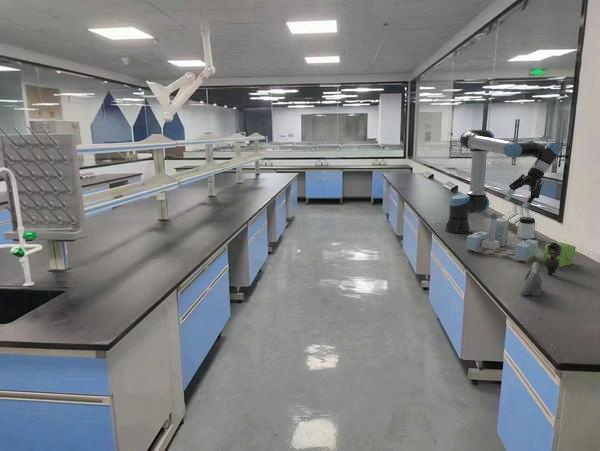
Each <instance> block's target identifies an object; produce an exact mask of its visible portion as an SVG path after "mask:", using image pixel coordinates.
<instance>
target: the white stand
mask: <svg viewBox="0 0 600 451" xmlns="http://www.w3.org/2000/svg"><path fill="white" fill-rule="evenodd" d="M488 218H489V219H488V227H487V228H488V229H487V232H488V237H487V239H485V240H483V241H482V245H481V247H484V248H489V249H494V250H495V249H497V248H500V246H499V245H500V241H496V240H495V231H496V221H497V218H498V214H497V213H495V212H492V213H490V214H489V215H488Z"/></svg>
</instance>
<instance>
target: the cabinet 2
mask: <svg viewBox="0 0 600 451" xmlns="http://www.w3.org/2000/svg"><path fill="white" fill-rule="evenodd" d="M538 248H539V240H534V239H525V240H522V242H519V243H518V244H515V249H514V251H515V256H514V259H518V260H523V261H525V260H527V259H529V258H531V257H533V256H534V255H535V256H536V255H537V254H538Z"/></svg>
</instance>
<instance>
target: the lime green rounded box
mask: <svg viewBox="0 0 600 451" xmlns="http://www.w3.org/2000/svg"><path fill="white" fill-rule="evenodd" d="M555 243H557V244H559V245H560V246H561V247H562V249H561V252H560V255H559V256H558V257H556V259H558V260H559V266H558V267H557V268H560V267H561V268H562V267H565V266H569V265H572V264H574V259H575V257H576V256H577V254H578V252H577V251H576V249H577V247H576V246H574V245H572V244H569V243H565V242H562V241H556V242H555ZM548 245H550V243H547V244H545V247H544V253H543V258H542V262H543V263H544V264H546V259H547V258H550V255H549V254H548V253H547V252H548V250H547V249H548V247H547V246H548Z"/></svg>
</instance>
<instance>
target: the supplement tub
mask: <svg viewBox="0 0 600 451" xmlns="http://www.w3.org/2000/svg"><path fill="white" fill-rule="evenodd" d="M509 222H510V220H508V219H507V218H501V217H497V221H496V231H495V240H496V241H500V245H499V247H505V246H507V244H508V235H509V234H508V233H509V224H510V223H509Z"/></svg>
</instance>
